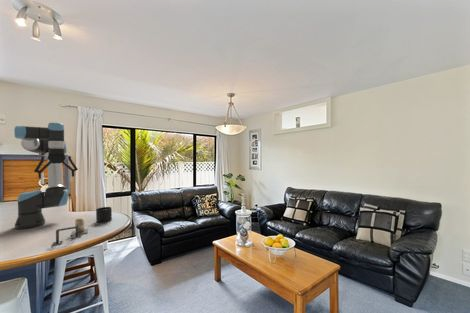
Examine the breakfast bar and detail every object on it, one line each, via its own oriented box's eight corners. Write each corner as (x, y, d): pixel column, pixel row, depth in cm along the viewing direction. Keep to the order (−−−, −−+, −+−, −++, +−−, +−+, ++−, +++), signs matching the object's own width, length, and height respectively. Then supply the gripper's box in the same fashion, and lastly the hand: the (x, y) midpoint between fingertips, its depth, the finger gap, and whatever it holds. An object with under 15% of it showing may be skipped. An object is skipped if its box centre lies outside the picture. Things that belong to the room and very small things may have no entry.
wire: (55, 239, 118) (54, 225, 118) (81, 235, 125) (81, 221, 125) (52, 246, 110) (51, 231, 110) (80, 240, 117) (80, 226, 117)
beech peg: (75, 233, 126) (75, 220, 125) (75, 231, 129) (75, 218, 129) (84, 232, 128) (84, 219, 128) (84, 230, 132) (84, 217, 132)
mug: (93, 224, 143) (93, 211, 143) (98, 219, 155) (97, 207, 155) (109, 223, 147) (109, 210, 147) (112, 218, 158) (112, 206, 158)
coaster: (72, 232, 130) (72, 231, 130) (87, 229, 134) (87, 228, 134) (70, 236, 123) (70, 235, 123) (87, 233, 127) (87, 232, 127)
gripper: (26, 147, 119) (27, 185, 119) (81, 148, 133) (82, 181, 133) (30, 148, 125) (30, 184, 125) (82, 148, 139) (82, 180, 139)
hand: (57, 182), depth 129 cm, fingers open, 13 cm apart
